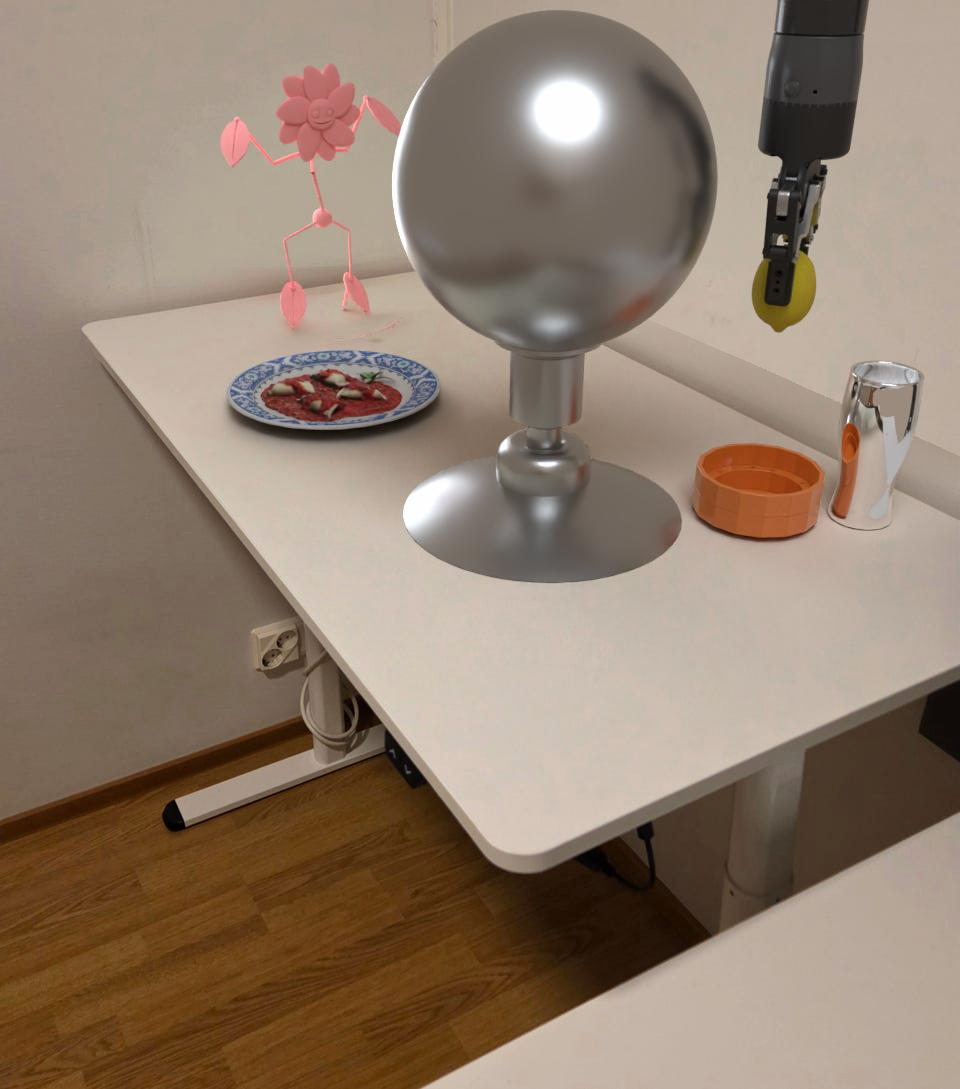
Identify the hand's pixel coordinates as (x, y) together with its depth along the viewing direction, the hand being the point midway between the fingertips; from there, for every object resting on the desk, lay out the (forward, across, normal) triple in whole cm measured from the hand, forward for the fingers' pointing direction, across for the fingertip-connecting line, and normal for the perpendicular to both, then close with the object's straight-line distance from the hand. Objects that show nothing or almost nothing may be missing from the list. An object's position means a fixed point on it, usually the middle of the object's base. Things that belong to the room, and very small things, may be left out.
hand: (784, 294), depth 99 cm
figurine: (+22, +33, +68) cm, 79 cm away
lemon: (+4, 0, 0) cm, 4 cm away
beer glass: (+22, +4, -10) cm, 25 cm away
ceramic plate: (+22, +8, +53) cm, 58 cm away
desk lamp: (+22, -8, +19) cm, 31 cm away
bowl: (+22, 0, 0) cm, 22 cm away
